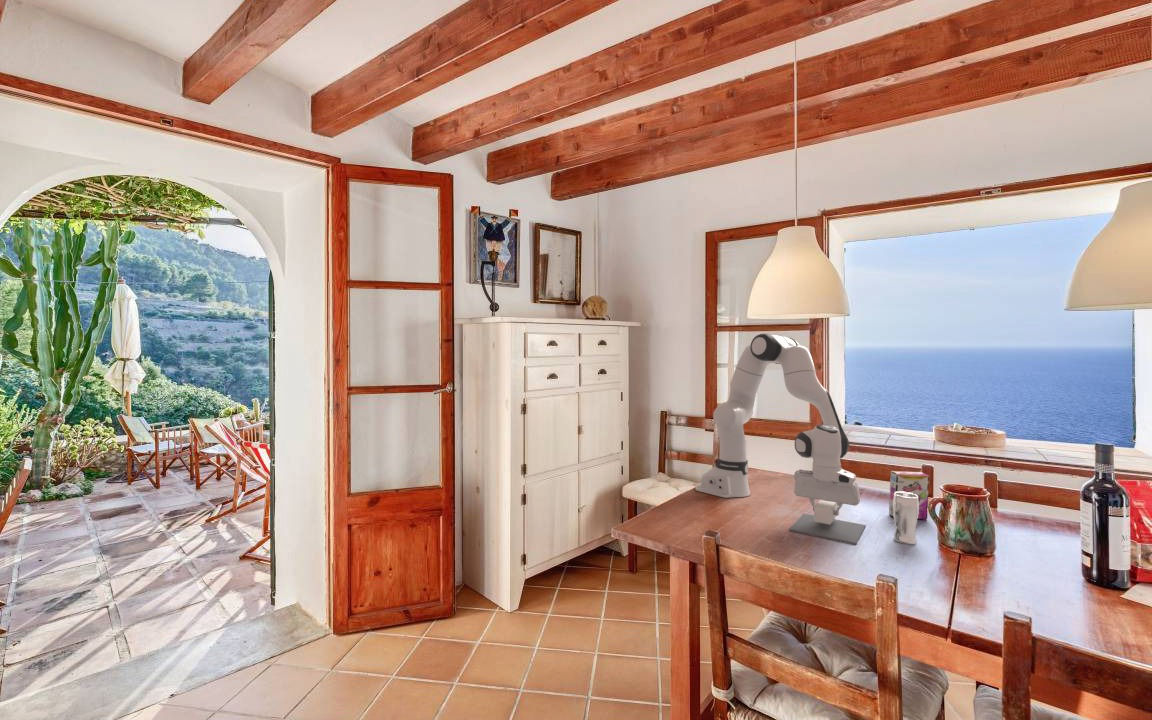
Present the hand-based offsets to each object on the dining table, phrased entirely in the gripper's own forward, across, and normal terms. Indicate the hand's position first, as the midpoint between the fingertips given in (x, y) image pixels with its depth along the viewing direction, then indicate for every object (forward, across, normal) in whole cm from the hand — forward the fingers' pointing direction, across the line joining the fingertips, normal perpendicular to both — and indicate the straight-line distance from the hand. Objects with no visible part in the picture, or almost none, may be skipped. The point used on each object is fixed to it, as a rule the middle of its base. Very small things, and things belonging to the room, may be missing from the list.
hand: (825, 513), depth 177 cm
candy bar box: (+5, +22, +29) cm, 37 cm away
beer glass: (+5, +23, +2) cm, 24 cm away
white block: (-1, 0, +8) cm, 8 cm away
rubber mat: (+5, +1, -1) cm, 5 cm away
